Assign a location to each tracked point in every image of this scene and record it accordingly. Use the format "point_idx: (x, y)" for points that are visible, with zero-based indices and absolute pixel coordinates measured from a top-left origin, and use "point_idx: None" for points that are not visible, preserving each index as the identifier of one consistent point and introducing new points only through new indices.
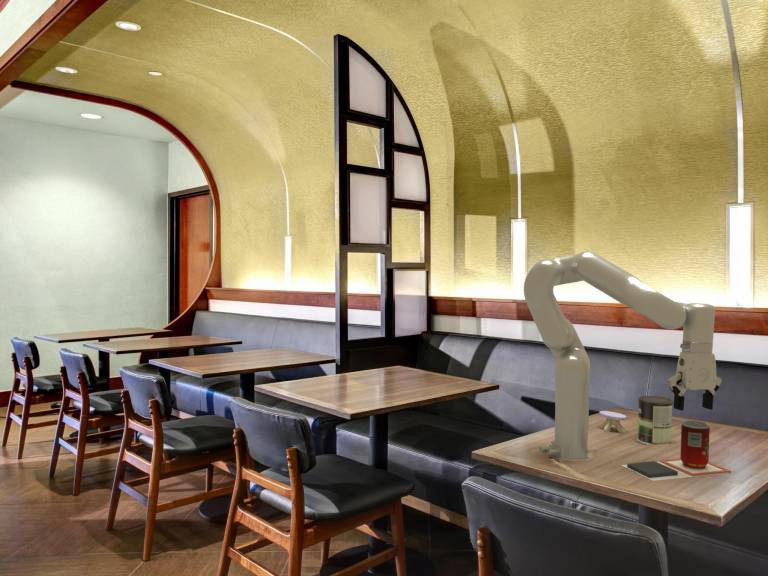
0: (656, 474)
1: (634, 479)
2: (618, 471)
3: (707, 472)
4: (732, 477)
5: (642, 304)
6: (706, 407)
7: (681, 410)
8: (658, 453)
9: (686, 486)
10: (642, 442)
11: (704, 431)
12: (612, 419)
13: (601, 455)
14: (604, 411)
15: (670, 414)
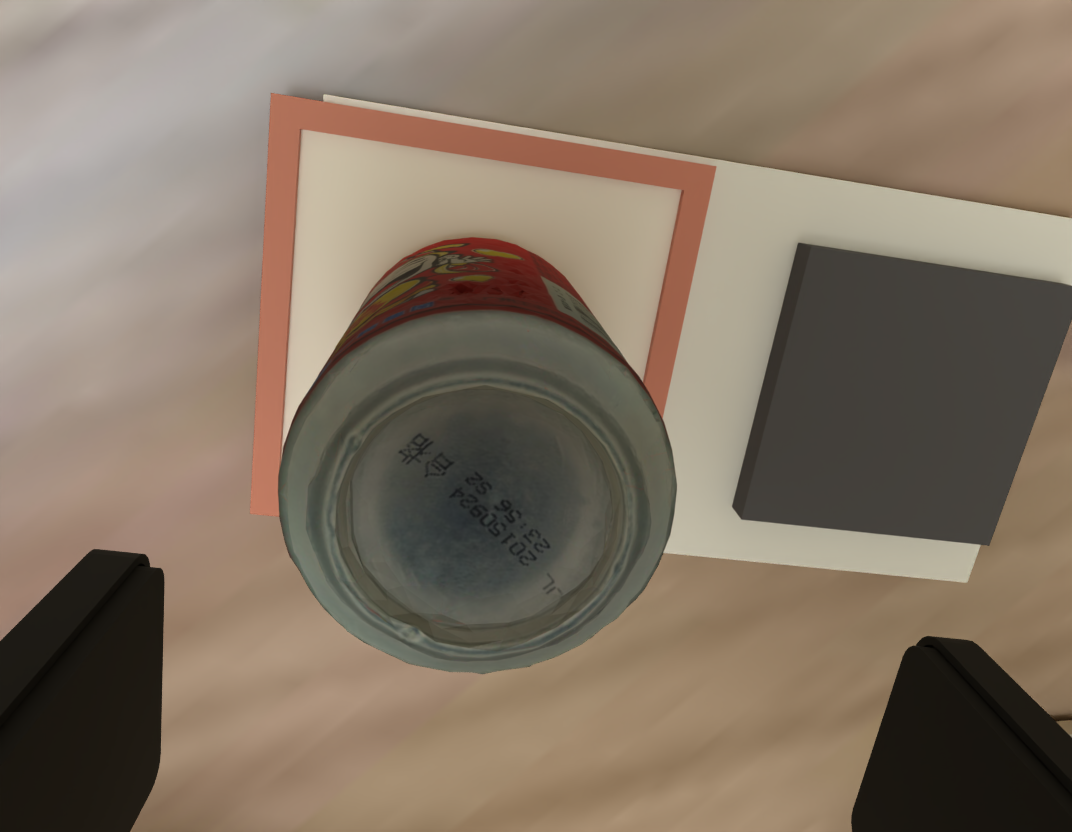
0: (1013, 277)
1: (1060, 372)
2: (1000, 540)
3: (540, 150)
4: (279, 78)
5: None
6: (154, 673)
7: (959, 641)
8: (369, 744)
9: (865, 86)
10: None
11: (516, 304)
12: None
13: (801, 821)
14: None
15: None
